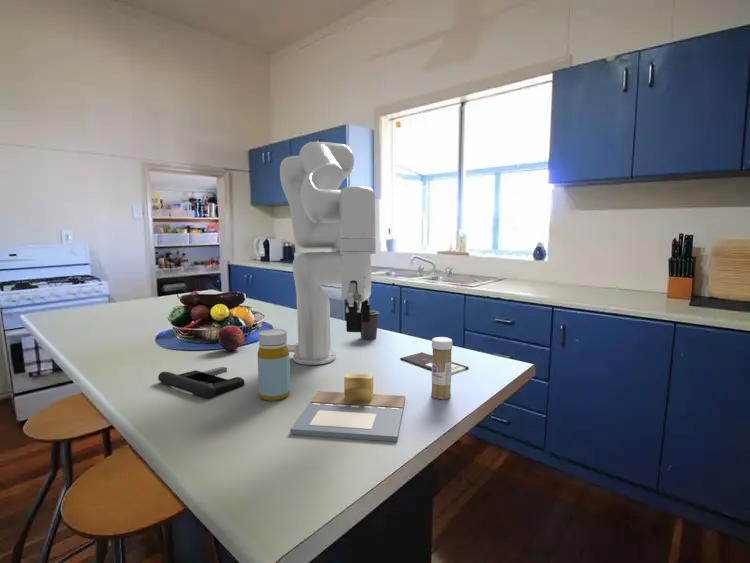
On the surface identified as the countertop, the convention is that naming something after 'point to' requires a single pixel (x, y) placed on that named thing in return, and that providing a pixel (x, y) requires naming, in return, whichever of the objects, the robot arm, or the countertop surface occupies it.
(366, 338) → the coffee cup
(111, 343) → the countertop surface
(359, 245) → the robot arm
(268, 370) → the bottle
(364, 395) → the stub
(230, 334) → the fruit
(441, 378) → the sprinkles bottle
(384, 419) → the ticket
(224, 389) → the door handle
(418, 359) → the chocolate bar
